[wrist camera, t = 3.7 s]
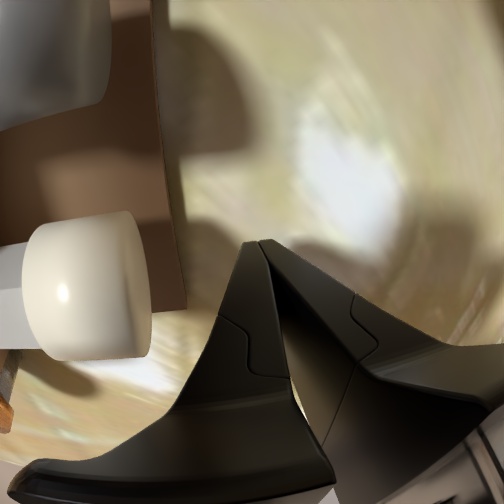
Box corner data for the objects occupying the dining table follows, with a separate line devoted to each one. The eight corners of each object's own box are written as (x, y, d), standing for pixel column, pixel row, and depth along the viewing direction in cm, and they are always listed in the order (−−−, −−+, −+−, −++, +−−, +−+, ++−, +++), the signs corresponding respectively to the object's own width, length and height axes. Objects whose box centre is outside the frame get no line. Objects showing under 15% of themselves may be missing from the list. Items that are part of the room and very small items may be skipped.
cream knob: (130, 187, 8) (102, 269, 5) (154, 291, 11) (149, 385, 8) (-72, 232, 7) (-123, 296, 4) (-34, 307, 9) (-66, 376, 6)
